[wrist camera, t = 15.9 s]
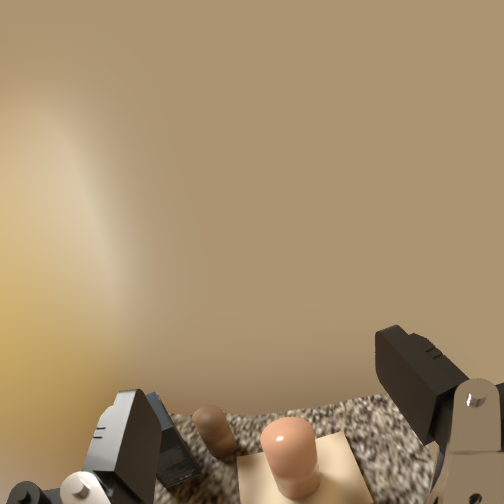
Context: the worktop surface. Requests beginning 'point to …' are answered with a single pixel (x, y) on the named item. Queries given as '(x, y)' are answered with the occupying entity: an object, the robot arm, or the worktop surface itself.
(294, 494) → the salmon orange cylinder
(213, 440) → the walnut cylinder
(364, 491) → the birch board
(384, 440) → the worktop surface
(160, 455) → the box
